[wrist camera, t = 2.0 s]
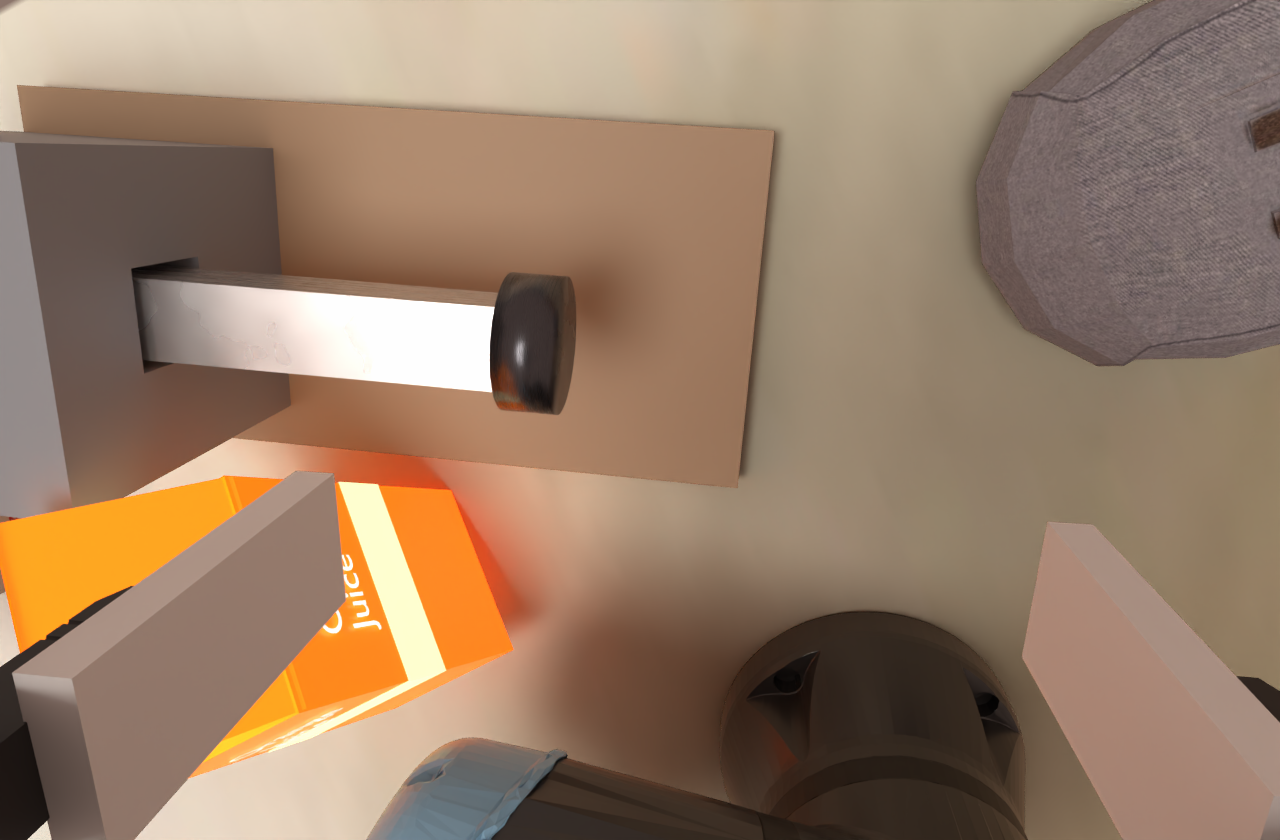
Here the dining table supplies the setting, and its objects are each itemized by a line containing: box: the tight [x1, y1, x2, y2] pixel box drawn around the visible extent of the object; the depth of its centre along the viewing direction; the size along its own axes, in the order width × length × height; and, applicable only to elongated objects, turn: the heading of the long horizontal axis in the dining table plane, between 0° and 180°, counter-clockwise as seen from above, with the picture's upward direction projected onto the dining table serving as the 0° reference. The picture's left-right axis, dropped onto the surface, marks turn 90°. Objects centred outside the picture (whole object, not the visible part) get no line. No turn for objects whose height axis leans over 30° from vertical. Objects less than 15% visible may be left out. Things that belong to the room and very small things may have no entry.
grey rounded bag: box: [976, 0, 1280, 366], centre depth 31 cm, size 15×8×20 cm
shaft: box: [131, 265, 576, 415], centre depth 31 cm, size 18×5×5 cm, turn 87°
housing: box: [0, 85, 774, 518], centre depth 33 cm, size 34×16×16 cm, turn 87°
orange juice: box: [0, 476, 513, 778], centre depth 34 cm, size 8×9×20 cm
